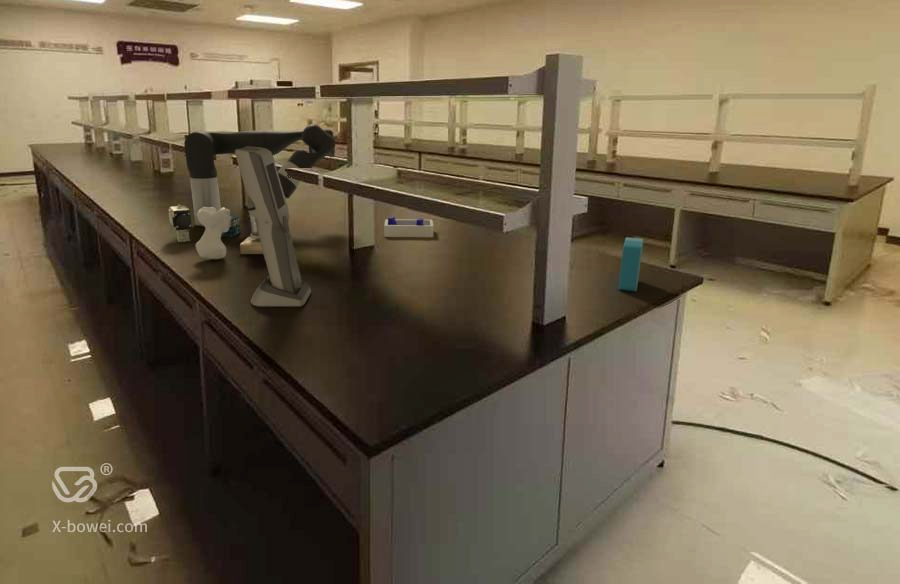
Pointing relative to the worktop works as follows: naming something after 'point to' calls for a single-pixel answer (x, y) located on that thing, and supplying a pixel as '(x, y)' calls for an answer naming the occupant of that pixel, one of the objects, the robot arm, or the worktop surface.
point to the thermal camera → (271, 230)
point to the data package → (630, 264)
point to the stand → (251, 246)
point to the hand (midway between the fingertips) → (253, 222)
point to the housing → (254, 228)
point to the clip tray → (408, 228)
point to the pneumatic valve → (180, 221)
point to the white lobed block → (213, 232)
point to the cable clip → (392, 222)
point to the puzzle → (233, 227)
